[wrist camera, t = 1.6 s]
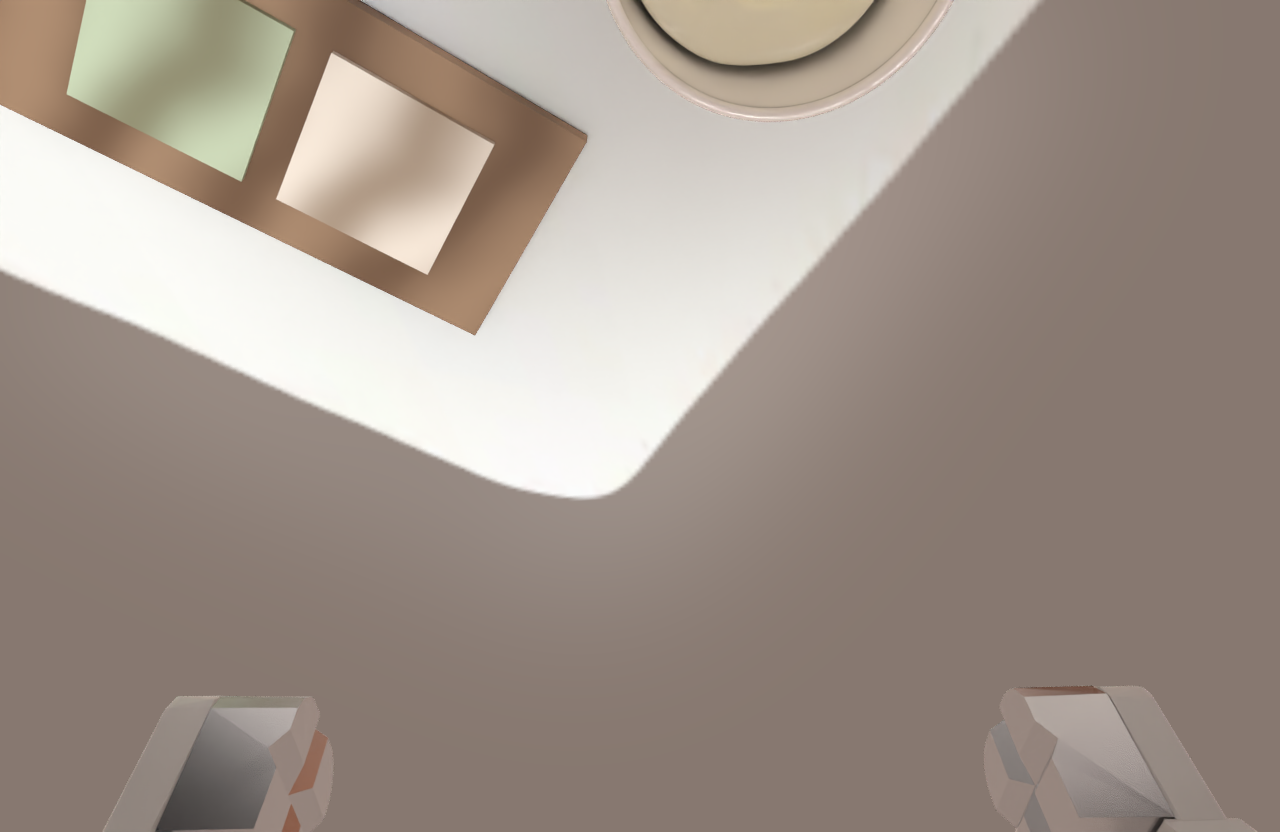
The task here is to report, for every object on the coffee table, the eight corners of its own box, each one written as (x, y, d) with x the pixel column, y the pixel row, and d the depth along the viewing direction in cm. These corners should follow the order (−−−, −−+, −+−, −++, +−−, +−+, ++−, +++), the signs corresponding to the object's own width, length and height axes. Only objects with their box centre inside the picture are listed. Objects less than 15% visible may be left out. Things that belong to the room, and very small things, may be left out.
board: (-13, 86, 35) (-30, 94, 35) (31, -194, 30) (13, -193, 29) (477, 326, 42) (474, 338, 42) (587, 135, 37) (586, 144, 36)
